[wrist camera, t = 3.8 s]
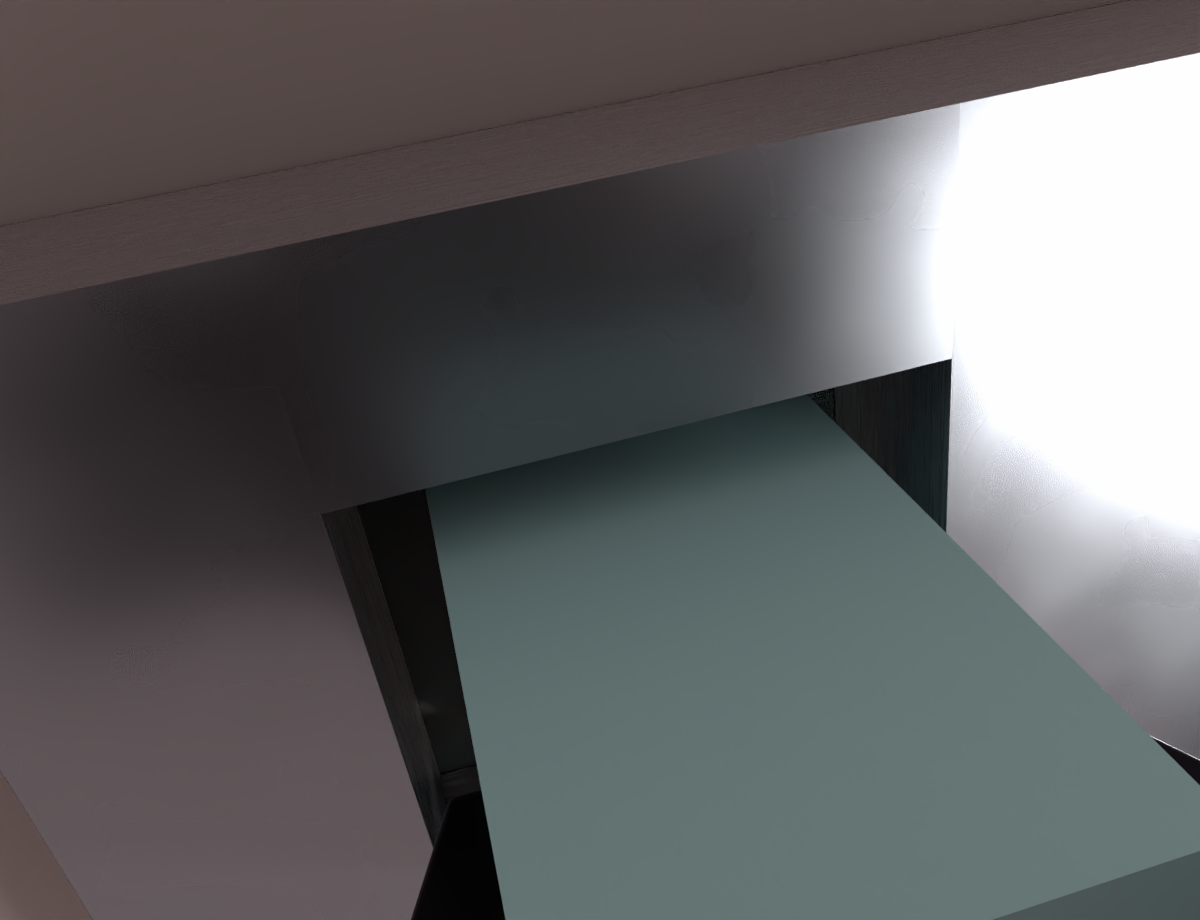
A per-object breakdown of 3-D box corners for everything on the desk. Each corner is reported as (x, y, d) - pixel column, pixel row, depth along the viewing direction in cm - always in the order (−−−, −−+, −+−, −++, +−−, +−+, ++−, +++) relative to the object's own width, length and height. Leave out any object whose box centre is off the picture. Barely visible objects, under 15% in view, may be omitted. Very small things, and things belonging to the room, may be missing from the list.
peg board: (2015, -177, 12) (2411, -197, 10) (1688, 517, 17) (1900, 612, 15) (-117, 249, 9) (-269, 370, 7) (244, 954, 14) (230, 1163, 12)
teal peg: (766, 353, 12) (1248, 835, 6) (784, 628, 14) (1155, 1200, 8) (415, 437, 11) (534, 1070, 5) (488, 710, 13) (635, 1396, 7)
